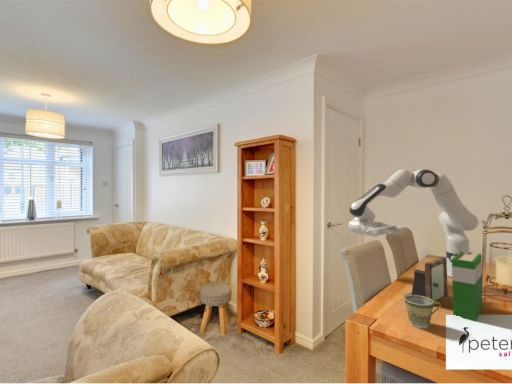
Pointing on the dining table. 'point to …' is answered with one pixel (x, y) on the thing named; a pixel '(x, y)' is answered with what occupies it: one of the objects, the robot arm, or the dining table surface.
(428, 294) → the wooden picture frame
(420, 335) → the dining table surface
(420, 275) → the door stopper
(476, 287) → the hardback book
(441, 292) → the door
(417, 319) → the ceramic cup
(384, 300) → the dining table surface
